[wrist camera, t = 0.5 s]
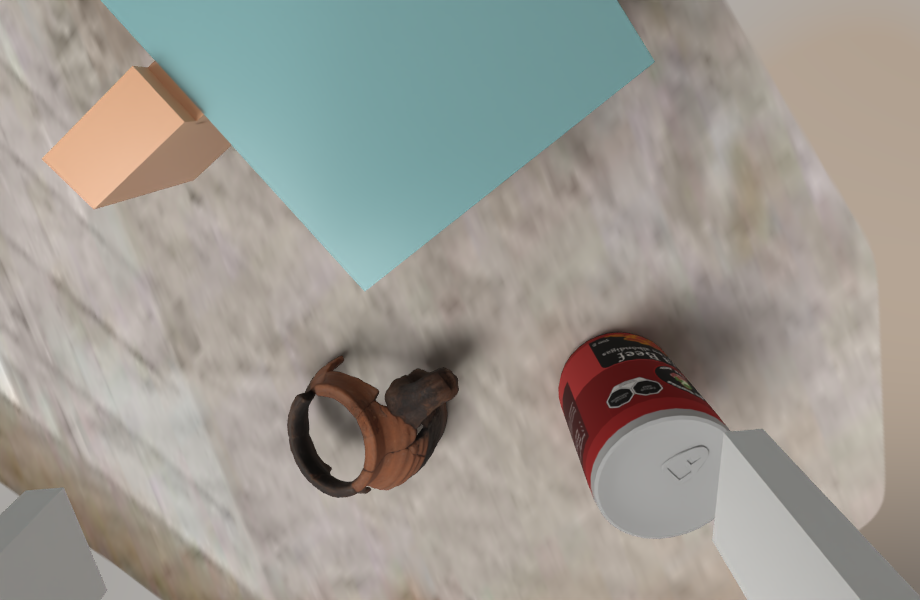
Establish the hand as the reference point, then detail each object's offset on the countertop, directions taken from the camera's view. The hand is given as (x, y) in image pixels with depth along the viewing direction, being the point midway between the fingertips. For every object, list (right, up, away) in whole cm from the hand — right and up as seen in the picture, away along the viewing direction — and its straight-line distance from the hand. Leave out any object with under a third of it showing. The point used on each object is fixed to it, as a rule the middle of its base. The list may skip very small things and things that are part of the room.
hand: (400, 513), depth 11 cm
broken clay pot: (-4, -2, +28) cm, 28 cm away
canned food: (+12, -1, +28) cm, 30 cm away
